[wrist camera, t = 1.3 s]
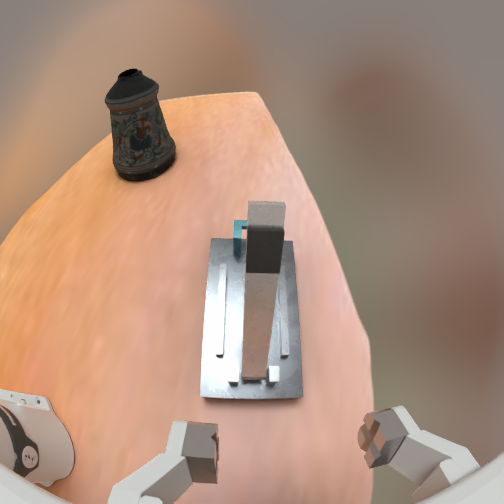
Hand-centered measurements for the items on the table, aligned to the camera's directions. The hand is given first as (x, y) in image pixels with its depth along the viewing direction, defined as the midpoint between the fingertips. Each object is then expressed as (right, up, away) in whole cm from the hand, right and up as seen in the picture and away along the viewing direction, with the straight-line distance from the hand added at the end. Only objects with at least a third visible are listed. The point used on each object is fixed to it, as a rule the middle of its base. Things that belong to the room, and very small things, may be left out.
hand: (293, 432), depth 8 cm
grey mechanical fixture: (-2, -5, +36) cm, 36 cm away
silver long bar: (-1, +1, +20) cm, 20 cm away
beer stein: (-30, +31, +57) cm, 71 cm away
